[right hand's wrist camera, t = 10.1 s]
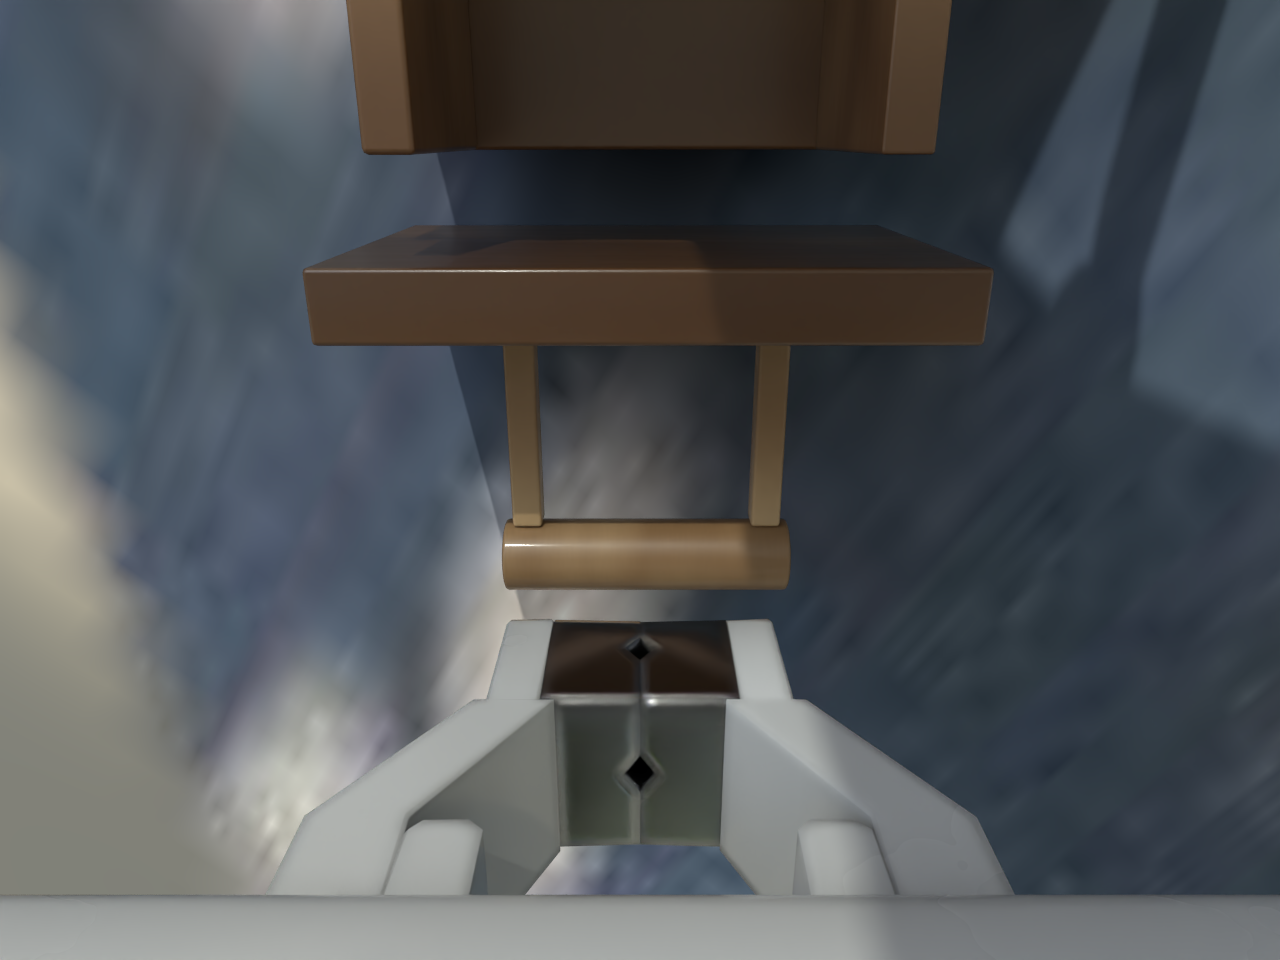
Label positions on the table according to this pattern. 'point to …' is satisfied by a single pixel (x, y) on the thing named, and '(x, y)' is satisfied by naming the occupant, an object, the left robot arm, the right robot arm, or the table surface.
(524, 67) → the drawer
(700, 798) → the right robot arm
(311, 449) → the table surface
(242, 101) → the table surface
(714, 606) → the table surface
